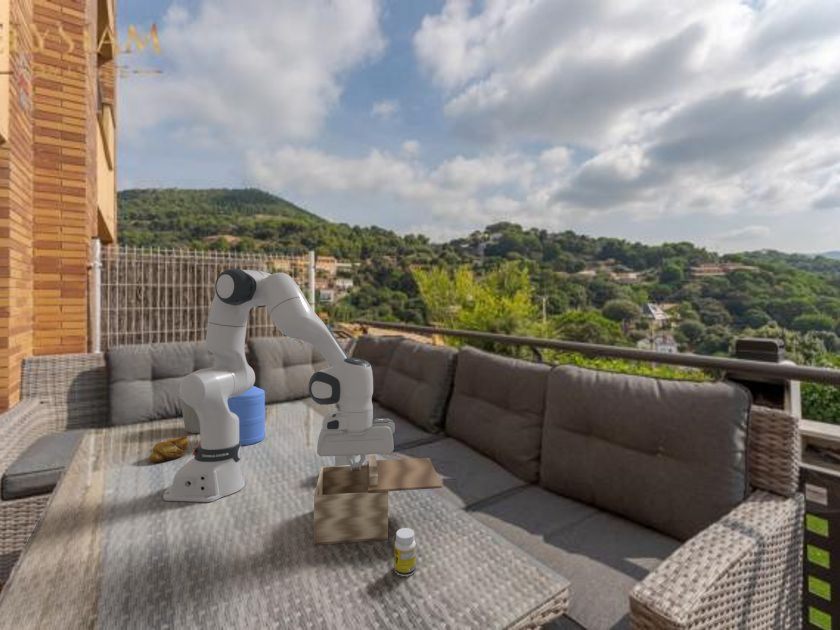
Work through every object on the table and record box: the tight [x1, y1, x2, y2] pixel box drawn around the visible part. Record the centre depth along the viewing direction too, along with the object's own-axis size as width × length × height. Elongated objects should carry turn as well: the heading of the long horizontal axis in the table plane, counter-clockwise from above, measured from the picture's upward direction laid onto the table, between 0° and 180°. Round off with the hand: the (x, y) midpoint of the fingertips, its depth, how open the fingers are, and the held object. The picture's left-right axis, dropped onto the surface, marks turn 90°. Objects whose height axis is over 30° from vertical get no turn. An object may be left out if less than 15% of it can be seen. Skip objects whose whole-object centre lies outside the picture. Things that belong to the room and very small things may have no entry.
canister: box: [178, 395, 200, 434], centre depth 184 cm, size 18×18×21 cm
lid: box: [366, 454, 443, 493], centre depth 108 cm, size 19×19×3 cm
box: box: [313, 463, 389, 546], centre depth 107 cm, size 18×18×12 cm
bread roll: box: [148, 435, 190, 463], centre depth 150 cm, size 13×10×8 cm
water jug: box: [227, 385, 266, 447], centre depth 171 cm, size 16×16×28 cm
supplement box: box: [334, 455, 361, 466], centre depth 138 cm, size 7×7×13 cm
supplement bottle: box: [393, 527, 417, 577], centre depth 88 cm, size 5×5×8 cm
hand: (355, 470), depth 107 cm, fingers closed
